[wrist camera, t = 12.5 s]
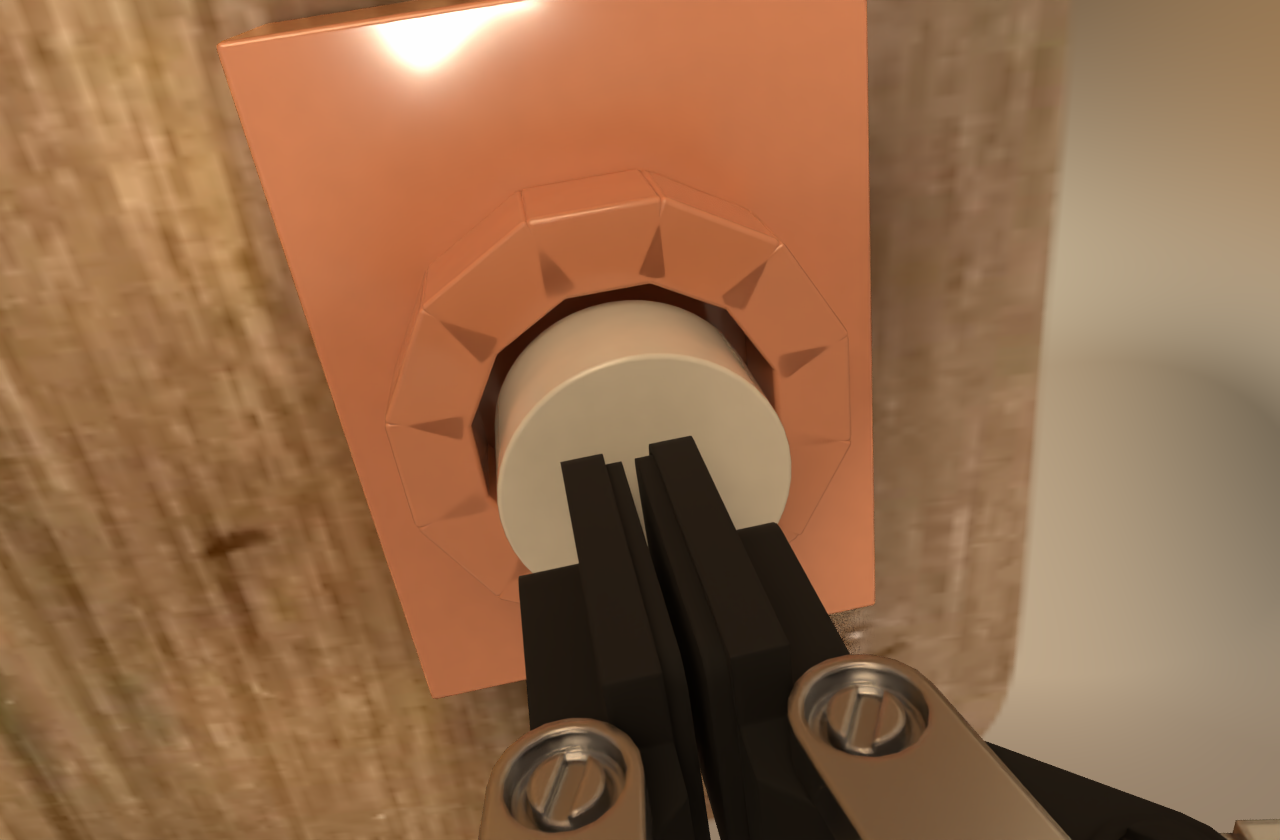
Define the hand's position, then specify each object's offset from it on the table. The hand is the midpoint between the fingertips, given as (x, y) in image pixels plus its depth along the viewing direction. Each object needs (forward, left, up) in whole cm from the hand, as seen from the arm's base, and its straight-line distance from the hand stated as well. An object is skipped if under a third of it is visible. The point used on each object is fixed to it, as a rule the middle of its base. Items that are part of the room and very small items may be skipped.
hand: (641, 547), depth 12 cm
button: (0, 0, -3) cm, 3 cm away
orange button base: (0, 0, -8) cm, 8 cm away
